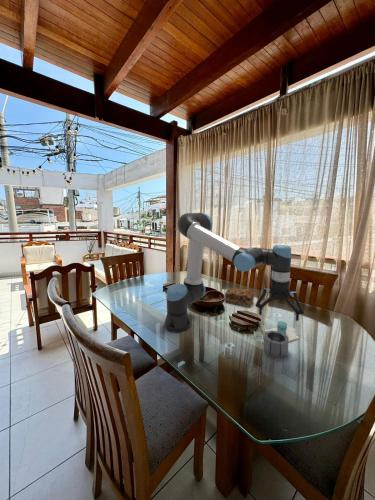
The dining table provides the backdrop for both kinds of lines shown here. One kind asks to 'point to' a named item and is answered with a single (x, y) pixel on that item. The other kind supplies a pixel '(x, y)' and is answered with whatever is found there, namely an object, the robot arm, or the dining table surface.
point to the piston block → (284, 331)
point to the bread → (239, 297)
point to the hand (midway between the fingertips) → (277, 323)
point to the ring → (276, 344)
